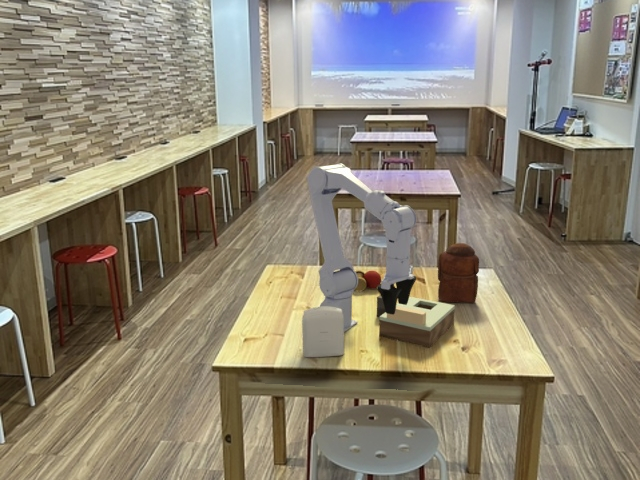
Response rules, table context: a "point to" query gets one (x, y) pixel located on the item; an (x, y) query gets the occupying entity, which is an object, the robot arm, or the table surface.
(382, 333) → the brown wooden box
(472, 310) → the table surface
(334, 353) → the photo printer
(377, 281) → the kendama
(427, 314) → the lid
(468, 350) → the table surface
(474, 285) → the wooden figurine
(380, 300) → the dark brown block
